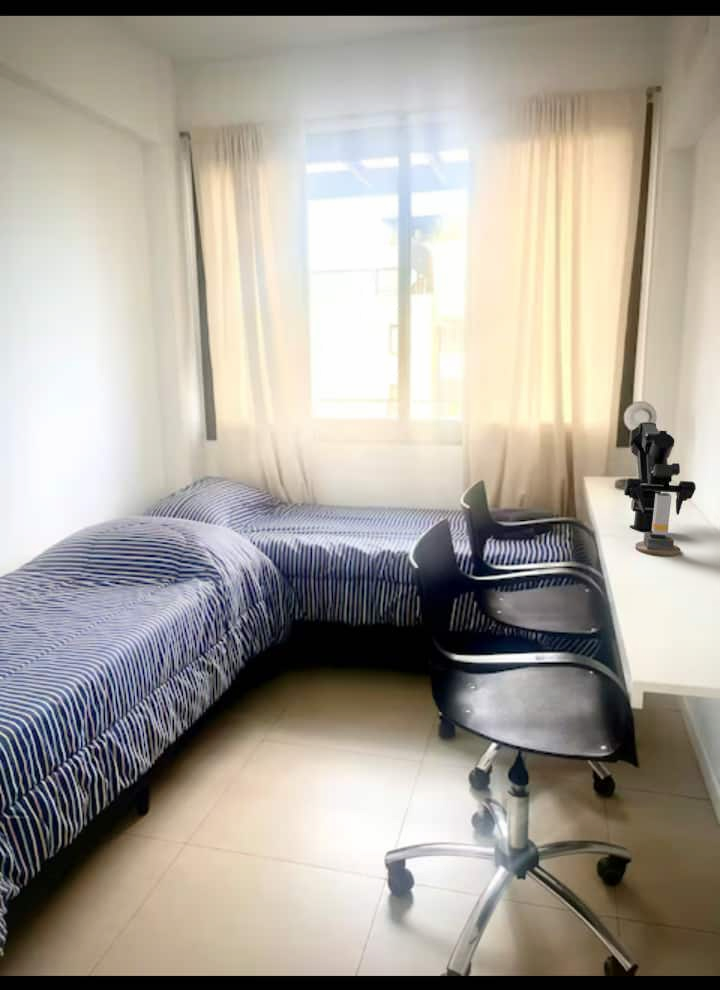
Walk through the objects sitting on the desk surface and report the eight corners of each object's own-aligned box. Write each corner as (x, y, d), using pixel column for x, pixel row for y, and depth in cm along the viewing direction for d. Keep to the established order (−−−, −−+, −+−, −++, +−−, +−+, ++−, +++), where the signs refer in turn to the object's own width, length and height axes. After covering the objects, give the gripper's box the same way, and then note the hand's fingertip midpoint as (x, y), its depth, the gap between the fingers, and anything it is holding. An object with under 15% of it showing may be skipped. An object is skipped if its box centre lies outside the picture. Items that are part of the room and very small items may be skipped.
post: (651, 530, 201) (655, 492, 199) (664, 531, 200) (669, 493, 198) (653, 533, 198) (657, 495, 195) (667, 534, 197) (671, 496, 194)
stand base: (632, 542, 207) (633, 530, 206) (675, 545, 205) (676, 532, 204) (638, 554, 196) (640, 541, 195) (684, 557, 193) (685, 544, 192)
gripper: (629, 451, 202) (631, 496, 194) (698, 454, 198) (703, 500, 190) (623, 472, 211) (624, 516, 203) (688, 475, 207) (693, 520, 199)
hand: (660, 513), depth 198 cm, fingers open, 9 cm apart
